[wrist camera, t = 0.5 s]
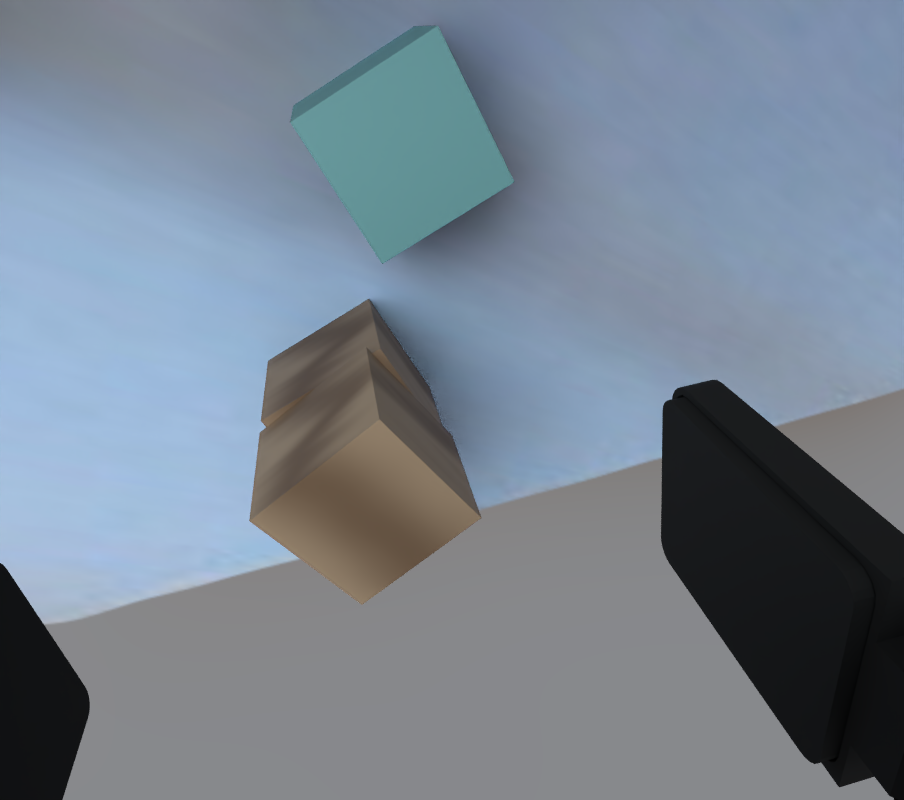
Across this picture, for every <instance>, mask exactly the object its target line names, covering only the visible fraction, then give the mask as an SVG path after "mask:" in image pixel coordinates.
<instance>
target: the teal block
mask: <svg viewBox="0 0 904 800" xmlns="http://www.w3.org/2000/svg"><path fill="white" fill-rule="evenodd" d="M290 123H291V124H292V126H293V127H294V129H295V130H296V132H297V133H298V135H299V136H300V138H301V139H302V141H303V143H304V144H305V146H306V147H307V149H308V150H309V152H310V153H311V155H312V156H313V158H314V160H315V161H316V163H317V164H318V166H319V167H320V169H321V170H322V172H323V173H324V175H325V177H326V178H327V180H328V181H329V183H330V184H331V186H332V187H333V189H334V190H335V192H336V193H337V195H338V197H339V198H340V200H341V201H342V203H343V204H344V206H345V207H346V209H347V210H348V212H349V214H350V215H351V217H352V218H353V220H354V221H355V223H356V224H357V226H358V227H359V229H360V230H361V232H362V234H363V235H364V237H365V238H366V240H367V241H368V243H369V244H370V246H371V247H372V249H373V251H374V252H375V254H376V255H377V257H378V258H379V260H380V261H381V263H382V264H383V263H385V262H386V261H388V260H390V259H391V258H393V257H394V256H396V255H398V254H399V253H401V252H402V251H404V250H406V249H407V248H409V247H411V246H412V245H414V244H415V243H417V242H419V241H420V240H422V239H423V238H425V237H427V236H428V235H430V234H431V233H433V232H435V231H436V230H438V229H440V228H441V227H443V226H444V225H446V224H448V223H449V222H451V221H452V220H454V219H456V218H457V217H459V216H461V215H462V214H464V213H465V212H467V211H469V210H470V209H472V208H473V207H475V206H477V205H478V204H480V203H482V202H483V201H485V200H486V199H488V198H490V197H491V196H493V195H494V194H496V193H498V192H499V191H501V190H503V189H504V188H506V187H507V186H509V185H511V184H512V183H514V180H513V178H512V176H511V174H510V172H509V170H508V168H507V166H506V164H505V162H504V159H503V157H502V155H501V153H500V151H499V149H498V147H497V145H496V143H495V141H494V139H493V137H492V135H491V133H490V131H489V129H488V127H487V125H486V123H485V121H484V119H483V117H482V115H481V113H480V110H479V108H478V106H477V104H476V102H475V100H474V98H473V96H472V94H471V92H470V90H469V88H468V86H467V84H466V82H465V80H464V78H463V76H462V74H461V72H460V70H459V68H458V66H457V64H456V62H455V59H454V57H453V55H452V53H451V51H450V49H449V47H448V45H447V43H446V41H445V39H444V37H443V35H442V33H441V31H440V29H439V27H438V26H414V27H412V28H411V29H409V30H408V31H406V32H405V33H403V34H402V35H400V36H399V37H397V38H396V39H394V40H393V41H391V42H390V43H388V44H387V45H385V46H384V47H382V48H380V49H379V50H377V51H376V52H374V53H373V54H371V55H370V56H368V57H367V58H365V59H364V60H362V61H361V62H359V63H358V64H356V65H355V66H353V67H352V68H350V69H349V70H347V71H345V72H344V73H342V74H341V75H339V76H338V77H336V78H335V79H333V80H332V81H330V82H329V83H327V84H326V85H324V86H323V87H321V88H320V89H318V90H317V91H315V92H313V93H312V94H310V95H309V96H307V97H306V98H304V99H303V100H301V101H300V102H298V103H297V104H295V105H294V106H293V111H292V116H291V121H290Z"/></svg>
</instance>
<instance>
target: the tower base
mask: <svg viewBox="0 0 904 800" xmlns="http://www.w3.org/2000/svg"><path fill="white" fill-rule="evenodd" d="M365 347H367V348H368V349H369V351H370V352H371V353H372V354H373V355H374V356H375V357H376V358H377V359H378V360H379V361H380V362H381V363H382V364H383V365H384V366H385V367H386V368H387V369H388V370H389V371H390V372H391V373H392V374H393V375H394V376H395V377H396V378H397V379H398V380H399V382H400V383H401V384H402V385H403V386H404V387H405V388H406V389H407V390H408V391H409V392H410V393H411V394H412V395H413V396H414V397H415V398H416V399H417V400H418V401H419V402H420V403H421V404H422V405H423V406H424V407H425V408H426V409H427V410H428V411H429V413H430V414H431V415H432V416H433V417H434V418H435V419H436V420H437V421H438V422H439V423H440V424H441V425H442V423H441V420H440V417H439V414H438V412H437V409H436V406H435V403H434V400H433V397H432V394H431V391H430V388H429V386H428V385H427V383H426V382H425V380H424V379H423V377H422V376H421V374H420V373H419V372H418V370H417V369H416V367H415V366H414V364H413V363H412V361H411V360H410V358H409V357H408V355H407V354H406V352H405V351H404V350H403V348H402V347H401V345H400V344H399V342H398V341H397V339H396V338H395V336H394V335H393V333H392V332H391V330H390V329H389V328H388V326H387V325H386V323H385V322H384V320H383V319H382V317H381V316H380V314H379V313H378V311H377V310H376V309H375V307H374V306H373V304H372V303H371V301H370V300H369V299H368V300H366V301H365V302H363V303H361V304H360V305H358V306H357V307H355V308H353V309H352V310H350V311H348V312H347V313H345V314H344V315H342V316H340V317H339V318H337V319H335V320H334V321H332V322H331V323H329V324H327V325H326V326H324V327H322V328H321V329H319V330H317V331H316V332H314V333H313V334H311V335H309V336H308V337H306V338H304V339H303V340H301V341H300V342H298V343H296V344H295V345H293V346H291V347H290V348H288V349H287V350H285V351H283V352H282V353H280V354H278V355H277V356H275V357H274V358H272V359H270V360H269V361H268V366H267V375H266V383H265V391H264V400H263V408H262V416H261V421H262V423H263V424H264V425H265V426H266V427H268V426H269V425H270V424H271V423H273V422H274V421H275V420H276V419H277V418H279V417H280V416H281V415H282V414H284V413H285V412H286V411H287V410H289V409H290V408H291V407H292V406H294V405H295V404H296V403H297V402H298V401H300V400H301V399H302V398H303V397H305V396H306V395H307V394H308V393H310V392H311V391H312V390H313V389H315V388H316V387H317V386H318V385H320V384H321V383H322V382H323V381H324V380H326V379H327V378H328V377H329V376H331V375H332V374H333V373H334V372H336V371H337V370H338V369H339V368H341V367H342V366H343V365H344V364H345V363H347V362H348V361H349V360H350V359H352V358H353V357H354V356H355V355H357V354H358V353H359V352H360V351H362V350H363V349H364V348H365Z"/></svg>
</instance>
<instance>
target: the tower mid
mask: <svg viewBox="0 0 904 800" xmlns="http://www.w3.org/2000/svg"><path fill="white" fill-rule="evenodd" d="M479 519H481V516H480V513H479V510H478V507H477V504H476V502H475V499H474V496H473V493H472V490H471V488H470V485H469V482H468V479H467V476H466V474H465V471H464V468H463V465H462V462H461V460H460V457H459V454H458V451H457V448H456V445H455V443H454V440H453V437H452V435H451V434H450V433H449V432H448V431H447V430H446V429H445V428H444V427H443V426H442V425H441V424H440V423H439V422H438V421H437V420H436V419H435V418H434V417H433V416H432V415H431V414H430V413H429V411H428V410H427V409H426V408H425V407H424V406H423V405H422V404H421V403H420V402H419V401H418V400H417V399H416V398H415V397H414V396H413V395H412V394H411V393H410V392H409V391H408V390H407V389H406V388H405V387H404V386H403V385H402V384H401V383H400V382H399V380H398V379H397V378H396V377H395V376H394V375H393V374H392V373H391V372H390V371H389V370H388V369H387V368H386V367H385V366H384V365H383V364H382V363H381V362H380V361H379V360H378V359H377V358H376V357H375V356H374V355H373V354H372V353H371V352H370V351H369V349H368V348H367V347H365V348H364V349H363V350H362V351H360V352H359V353H358V354H357V355H355V356H354V357H353V358H352V359H350V360H349V361H348V362H347V363H345V364H344V365H343V366H342V367H341V368H339V369H338V370H337V371H336V372H334V373H333V374H332V375H331V376H329V377H328V378H327V379H326V380H324V381H323V382H322V383H321V384H320V385H318V386H317V387H316V388H315V389H313V390H312V391H311V392H310V393H308V394H307V395H306V396H305V397H303V398H302V399H301V400H300V401H298V402H297V403H296V404H295V405H294V406H292V407H291V408H290V409H289V410H287V411H286V412H285V413H284V414H282V415H281V416H280V417H279V418H277V419H276V420H275V421H274V422H273V423H271V424H270V425H269V426H268V427H266V428H265V429H264V430H263V431H261V432H260V436H259V444H258V453H257V461H256V470H255V478H254V487H253V495H252V503H251V512H250V520H249V521H250V522H251V523H253V524H254V525H255V526H257V527H258V528H259V529H261V530H262V531H264V532H265V533H266V534H268V535H269V536H270V537H272V538H273V539H274V540H276V541H277V542H278V543H280V544H281V545H282V546H284V547H285V548H286V549H288V550H289V551H290V552H292V553H293V554H294V555H296V556H297V557H298V558H300V559H301V560H303V561H304V562H305V563H307V564H308V565H309V566H311V567H312V568H314V569H315V570H316V571H317V572H319V573H320V574H321V575H323V576H324V577H325V578H327V579H328V580H329V581H331V582H332V583H333V584H335V585H336V586H337V587H339V588H340V589H341V590H343V591H344V592H345V593H347V594H348V595H349V596H351V597H352V598H353V599H355V600H356V601H358V602H359V603H360V604H364V603H365V602H366V601H368V600H369V599H370V598H372V597H373V596H374V595H376V594H377V593H379V592H380V591H382V590H383V589H384V588H385V587H387V586H388V585H390V584H391V583H393V582H394V581H395V580H397V579H398V578H399V577H401V576H402V575H404V574H405V573H406V572H408V571H409V570H410V569H412V568H413V567H414V566H416V565H417V564H419V563H420V562H421V561H423V560H424V559H426V558H427V557H428V556H430V555H431V554H432V553H434V552H435V551H437V550H438V549H439V548H441V547H442V546H444V545H445V544H446V543H448V542H449V541H450V540H452V539H453V538H455V537H456V536H457V535H459V534H460V533H461V532H463V531H464V530H466V529H467V528H468V527H470V526H471V525H472V524H474V523H475V522H476V521H478V520H479Z"/></svg>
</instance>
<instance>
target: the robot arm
mask: <svg viewBox="0 0 904 800" xmlns="http://www.w3.org/2000/svg"><path fill="white" fill-rule="evenodd" d="M661 513H662V514H661V518H662V519H661V541H662V546H663V550H664V553H665V556H666V558H667V560H668V561H669V563H670V565H671V566H672V568H673V569H674V570H675V572H676V573H677V575H678V576H679V578H680V579H681V581H682V582H683V583H684V585H685V586H686V588H687V589H688V591H689V592H690V593H691V595H692V596H693V598H694V599H695V601H696V602H697V604H698V605H699V606H700V608H701V609H702V611H703V612H704V614H705V615H706V617H707V618H708V619H709V621H710V622H711V624H712V625H713V627H714V628H715V630H716V631H717V632H718V634H719V635H720V637H721V638H722V640H723V641H724V642H725V644H726V645H727V647H728V648H729V650H730V651H731V652H732V654H733V655H734V657H735V658H736V660H737V661H738V663H739V664H740V665H741V667H742V668H743V670H744V671H745V673H746V674H747V676H748V677H749V679H750V680H751V681H752V683H753V684H754V686H755V687H756V689H757V690H758V691H759V693H760V694H761V696H762V697H763V698H764V700H765V701H766V703H767V704H768V706H769V707H770V709H771V710H772V712H773V713H774V715H775V716H776V717H777V719H778V720H779V722H780V723H781V725H782V726H783V727H784V729H785V730H786V732H787V733H788V734H789V736H790V738H791V739H792V740H793V742H794V743H795V745H796V746H797V748H798V749H799V750H800V752H801V753H802V754H803V756H804V757H805V758H806V759H807V760H809V761H810V762H811V763H814V764H816V763H820V762H821V763H822V764H823V765H824V767H825V768H826V770H827V771H828V772H829V774H830V775H831V777H832V778H833V779H834V781H835V782H836V784H837V785H838V786H839V787H842V786H845V785H848V784H852V783H855V782H858V781H861V780H865V779H868V778H871V777H875V778H876V779H877V780H878V782H879V783H880V784H881V785H882V787H883V788H884V789H885V791H886V792H887V793H888V795H889V796H891V797H893V798H894V800H904V534H903V533H902V532H900V531H899V530H898V529H897V528H896V527H894V526H893V525H892V524H891V523H890V522H888V521H887V520H886V519H885V518H883V517H882V516H881V515H880V514H879V513H878V512H876V511H875V510H874V509H873V508H872V507H870V506H869V505H868V504H867V503H865V502H864V501H863V500H862V499H861V498H860V497H858V496H857V495H856V494H855V493H853V492H852V491H851V490H850V489H849V488H847V487H846V486H845V485H844V484H843V483H841V482H840V481H839V480H838V479H836V478H835V477H834V476H833V475H832V474H831V473H829V472H828V471H827V470H826V469H825V468H823V467H822V466H821V465H820V464H819V463H817V462H816V461H815V460H814V459H813V458H811V457H810V456H809V455H808V454H807V453H805V452H804V451H803V450H802V449H801V448H799V447H798V446H797V445H796V444H794V443H793V442H792V441H791V440H790V439H789V438H787V437H786V436H785V435H784V434H783V433H781V432H780V431H779V430H778V429H777V428H775V427H774V426H773V425H772V424H771V423H769V422H768V421H767V420H766V419H765V418H763V417H762V416H761V415H760V414H758V413H757V412H756V411H755V410H754V409H752V408H751V407H750V406H749V405H748V404H746V403H745V402H744V401H743V400H742V399H740V398H739V397H738V396H737V395H736V394H734V393H733V392H732V391H731V390H730V389H728V388H727V387H726V386H725V385H724V384H722V383H721V382H719V381H718V380H710V381H705V382H701V383H697V384H693V385H689V386H684V387H680V388H677V389H676V390H675V391H674V394H673V398H672V400H668V401H666V402H665V403H664V406H663V431H662V511H661ZM89 708H90V702H89V695H88V692H87V690H86V688H85V686H84V685H83V683H82V682H81V680H80V678H79V677H78V675H77V674H76V672H75V671H74V669H73V668H72V666H71V665H70V663H69V662H68V660H67V659H66V657H65V656H64V654H63V653H62V651H61V650H60V648H59V647H58V645H57V644H56V642H55V641H54V639H53V638H52V636H51V635H50V633H49V632H48V630H47V629H46V627H45V626H44V624H43V623H42V621H41V620H40V618H39V617H38V615H37V614H36V612H35V611H34V609H33V608H32V606H31V605H30V603H29V602H28V600H27V599H26V597H25V596H24V594H23V593H22V591H21V590H20V588H19V587H18V585H17V584H16V582H15V581H14V579H13V578H12V576H11V575H10V573H9V572H8V570H7V569H6V568H5V567H4V565H3V564H1V563H0V800H62V799H63V796H64V793H65V790H66V786H67V783H68V780H69V777H70V773H71V770H72V767H73V764H74V761H75V758H76V754H77V751H78V748H79V745H80V742H81V738H82V735H83V732H84V729H85V725H86V722H87V719H88V715H89Z"/></svg>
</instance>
